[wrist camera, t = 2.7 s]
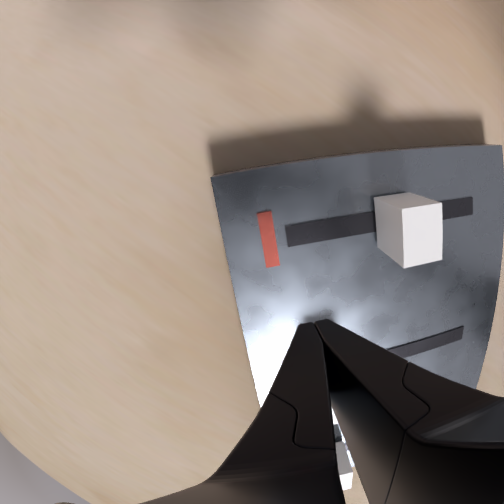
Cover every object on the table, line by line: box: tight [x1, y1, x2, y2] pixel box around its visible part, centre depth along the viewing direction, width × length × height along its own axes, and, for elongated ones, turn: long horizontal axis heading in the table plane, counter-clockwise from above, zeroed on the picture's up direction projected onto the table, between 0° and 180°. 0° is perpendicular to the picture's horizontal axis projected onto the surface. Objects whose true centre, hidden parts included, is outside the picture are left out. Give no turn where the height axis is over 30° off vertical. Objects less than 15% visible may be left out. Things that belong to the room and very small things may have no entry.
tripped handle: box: [374, 192, 443, 268], centre depth 16 cm, size 2×3×4 cm
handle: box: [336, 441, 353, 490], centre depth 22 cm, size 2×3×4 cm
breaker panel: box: [211, 144, 504, 467], centre depth 22 cm, size 20×28×2 cm
